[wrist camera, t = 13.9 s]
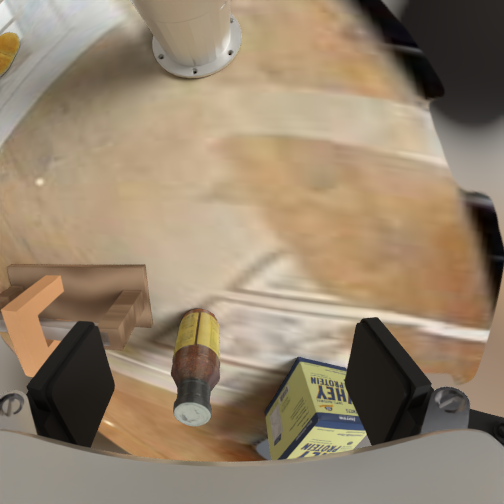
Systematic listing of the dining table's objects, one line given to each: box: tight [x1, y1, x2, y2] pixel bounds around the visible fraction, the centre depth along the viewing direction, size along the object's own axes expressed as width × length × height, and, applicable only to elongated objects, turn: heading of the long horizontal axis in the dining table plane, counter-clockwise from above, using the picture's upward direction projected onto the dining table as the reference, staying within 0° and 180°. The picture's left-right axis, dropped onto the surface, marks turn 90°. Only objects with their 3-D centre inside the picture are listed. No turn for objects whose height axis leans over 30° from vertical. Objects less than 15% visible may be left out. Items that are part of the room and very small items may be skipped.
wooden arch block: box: [1, 275, 71, 377], centre depth 33 cm, size 10×3×12 cm, turn 0°
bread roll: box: [0, 32, 20, 77], centre depth 28 cm, size 8×9×4 cm
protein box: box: [265, 357, 367, 460], centre depth 45 cm, size 10×16×16 cm
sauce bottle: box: [171, 309, 220, 426], centre depth 37 cm, size 6×6×20 cm
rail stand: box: [0, 264, 153, 350], centre depth 38 cm, size 10×28×13 cm, turn 90°
